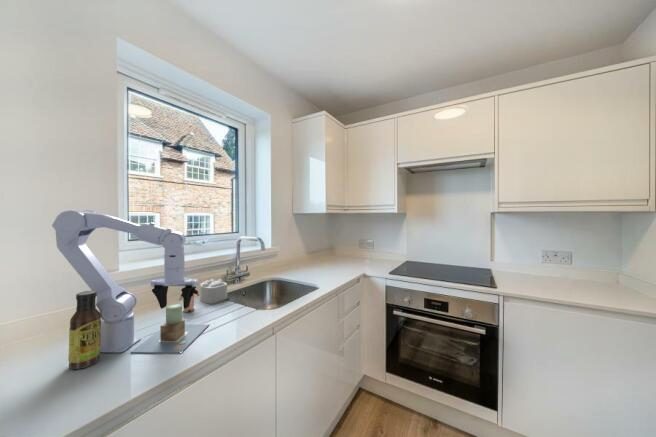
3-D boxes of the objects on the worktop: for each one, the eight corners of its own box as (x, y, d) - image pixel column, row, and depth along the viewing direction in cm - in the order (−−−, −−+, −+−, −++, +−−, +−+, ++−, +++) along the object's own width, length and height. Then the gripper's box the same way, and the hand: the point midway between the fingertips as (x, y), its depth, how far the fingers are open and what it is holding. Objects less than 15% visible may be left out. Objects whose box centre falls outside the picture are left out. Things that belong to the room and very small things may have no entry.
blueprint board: (130, 353, 73) (130, 351, 73) (168, 325, 91) (168, 323, 91) (181, 353, 74) (181, 351, 74) (208, 325, 92) (208, 324, 92)
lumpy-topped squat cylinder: (210, 304, 112) (210, 285, 112) (194, 298, 119) (194, 281, 119) (230, 298, 121) (230, 280, 120) (214, 292, 128) (214, 276, 127)
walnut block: (160, 341, 79) (160, 326, 79) (170, 333, 84) (170, 319, 84) (176, 341, 79) (176, 326, 79) (184, 333, 84) (184, 319, 84)
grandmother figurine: (182, 314, 101) (182, 283, 101) (178, 311, 103) (178, 282, 103) (201, 308, 107) (201, 280, 107) (196, 306, 109) (197, 278, 109)
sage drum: (162, 324, 80) (162, 309, 80) (171, 318, 85) (171, 304, 84) (177, 325, 80) (177, 310, 80) (184, 318, 85) (184, 304, 84)
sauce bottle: (81, 372, 64) (80, 297, 64) (62, 369, 65) (61, 295, 65) (107, 358, 71) (106, 289, 70) (88, 355, 72) (88, 288, 71)
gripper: (143, 270, 78) (144, 312, 78) (190, 270, 78) (190, 312, 78) (158, 265, 85) (159, 303, 85) (201, 265, 85) (201, 303, 85)
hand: (175, 307), depth 82 cm, fingers open, 7 cm apart
